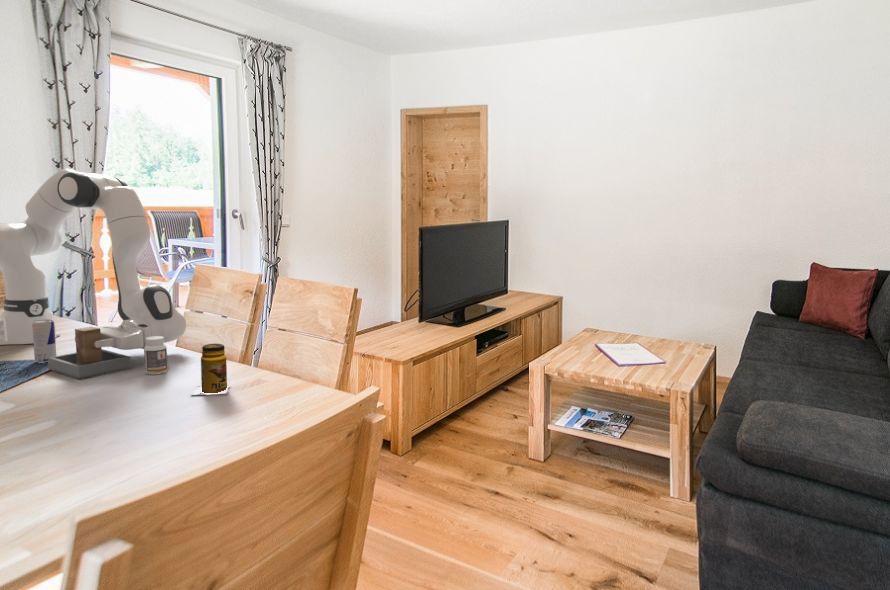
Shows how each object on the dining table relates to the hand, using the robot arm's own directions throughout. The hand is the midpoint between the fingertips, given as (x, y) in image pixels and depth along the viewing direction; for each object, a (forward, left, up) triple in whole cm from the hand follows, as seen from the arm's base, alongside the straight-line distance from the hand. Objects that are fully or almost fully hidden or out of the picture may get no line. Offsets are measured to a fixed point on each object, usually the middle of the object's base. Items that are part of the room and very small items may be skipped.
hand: (85, 342), depth 165 cm
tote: (0, +1, -8) cm, 8 cm away
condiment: (+43, +8, -8) cm, 44 cm away
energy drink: (-18, -2, -8) cm, 20 cm away
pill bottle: (+17, +10, -8) cm, 21 cm away
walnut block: (0, +1, -7) cm, 7 cm away
